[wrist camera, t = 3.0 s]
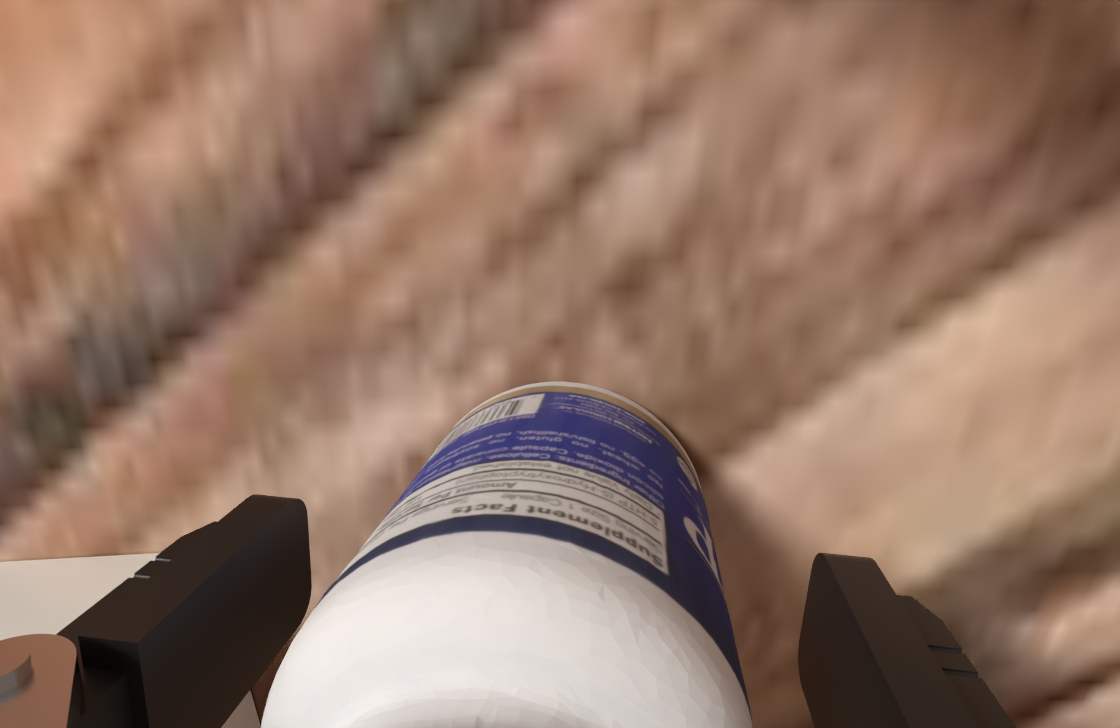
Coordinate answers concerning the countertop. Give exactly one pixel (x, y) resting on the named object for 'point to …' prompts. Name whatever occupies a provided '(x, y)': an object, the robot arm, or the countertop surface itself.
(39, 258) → the countertop surface
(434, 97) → the countertop surface
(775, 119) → the countertop surface
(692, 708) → the pill bottle
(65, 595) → the pedestal
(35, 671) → the robot arm
